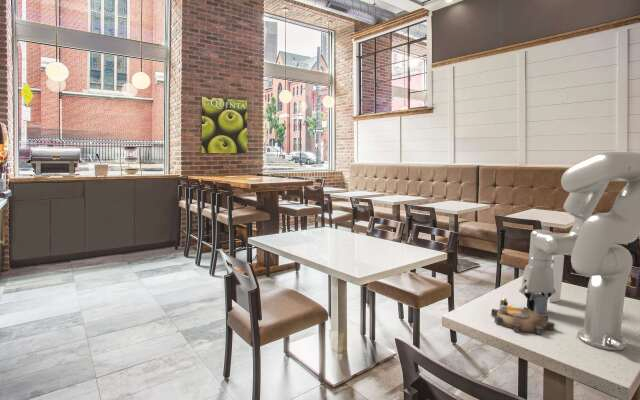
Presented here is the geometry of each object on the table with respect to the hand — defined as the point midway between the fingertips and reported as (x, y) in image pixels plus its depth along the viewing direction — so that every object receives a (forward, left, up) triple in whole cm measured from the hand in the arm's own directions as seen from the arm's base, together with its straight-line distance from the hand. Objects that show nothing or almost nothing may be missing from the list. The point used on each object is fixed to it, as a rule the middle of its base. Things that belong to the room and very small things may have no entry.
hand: (536, 308), depth 149 cm
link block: (0, 0, 0) cm, 1 cm away
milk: (+11, -12, -1) cm, 16 cm away
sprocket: (-11, +12, 0) cm, 16 cm away
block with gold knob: (+1, +12, 0) cm, 12 cm away
